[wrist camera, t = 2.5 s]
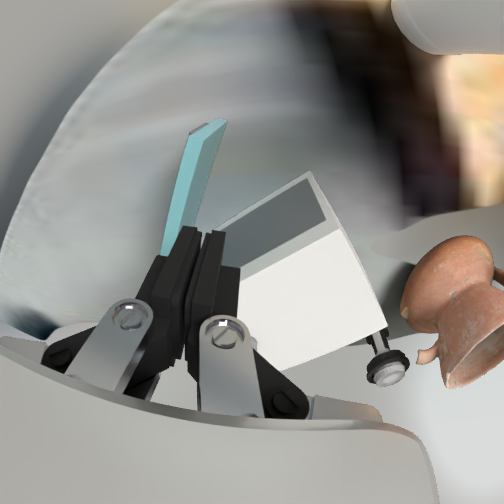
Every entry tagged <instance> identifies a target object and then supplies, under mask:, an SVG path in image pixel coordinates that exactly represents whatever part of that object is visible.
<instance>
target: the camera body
mask: <svg viewBox="0 0 504 504" xmlns="http://www.w3.org/2000/svg"><path fill="white" fill-rule="evenodd" d="M214 230H217V231H223V232H226V237H225V244H224V251H223V258H222V265H223V266H230V267H236V268H241V273H240V286H239V298H238V311H237V319H239V320H240V321H242V322H243V323H244V324H245V325H246V326H247V327H248V330H249V332H250V336H251V342H252V348H254V349H255V350H256V351H257V352H258V353H259V354H260V355H261V356H262V357H263V358H265V359H266V360H267V361H268V362H269V363H270V364H271V365H272V366H274V367H275V368H276V369H277V370H278V371H282V370H284V369H287V368H290V367H293V366H296V365H299V364H301V363H304V362H307V361H309V360H312V359H315V358H317V357H320V356H322V355H325V354H327V353H330V352H332V351H335V350H337V349H339V348H342V347H344V346H347V345H349V344H351V343H353V342H356V341H358V340H360V339H362V338H364V337H367V336H369V335H371V334H373V333H375V332H377V331H379V330H381V329H383V328H385V327H387V326H388V324H387V322H386V319H385V317H384V314H383V312H382V309H381V307H380V305H379V302H378V300H377V297H376V295H375V293H374V290H373V288H372V286H371V284H370V281H369V279H368V277H367V275H366V273H365V270H364V268H363V266H362V264H361V262H360V260H359V257H358V255H357V253H356V251H355V249H354V247H353V245H352V243H351V242H350V240H349V238H348V236H347V234H346V232H345V230H344V228H343V227H342V225H341V223H340V221H339V219H338V218H337V216H336V214H335V212H334V211H333V209H332V207H331V205H330V204H329V202H328V200H327V198H326V197H325V195H324V193H323V192H322V190H321V188H320V187H319V185H318V183H317V182H316V180H315V178H314V177H313V175H312V174H311V172H310V170H309V171H308V172H306V173H304V174H303V175H301V176H299V177H298V178H296V179H294V180H293V181H291V182H289V183H288V184H286V185H284V186H283V187H281V188H279V189H278V190H276V191H274V192H273V193H271V194H269V195H268V196H266V197H264V198H263V199H261V200H260V201H258V202H256V203H255V204H253V205H252V206H250V207H248V208H247V209H245V210H244V211H242V212H240V213H239V214H237V215H236V216H234V217H232V218H231V219H229V220H228V221H226V222H225V223H223V224H221V225H220V226H218V227H217V228H215V229H214ZM211 232H212V231H211ZM211 232H209V233H211ZM204 237H205V235H204V236H203V237H202V240H201V247H202V243H203V240H204Z"/></svg>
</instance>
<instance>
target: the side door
mask: <svg viewBox="0 0 504 504" xmlns="http://www.w3.org/2000/svg"><path fill="white" fill-rule="evenodd" d="M226 124H227V121H226V120H222V119H219V118H218V119H216V120H215V121H213V122H211V123H210V124H208V123H205V124H203V125H201V126H200V127H198V128H196V129H194V130H193V131H191V132H189V135H188V139H187V142H186V146H185V151H184V154H183V158H182V162H181V165H180V169H179V173H178V177H177V180H176V184H175V188H174V192H173V197H172V201H171V205H170V209H169V214H168V218H167V223H166V227H165V232H164V237H163V242H162V247H161V252H160V255H162V256H168V255H169V253H170V251H171V249H172V247H173V245H174V243H175V241H176V238H177V236H178V234H179V232H180V230H181V228H182V226H183V225H184V226H191V227H194V224H195V220H196V217H197V214H198V210H199V207H200V203H201V200H202V197H203V193H204V190H205V187H206V184H207V181H208V177H209V174H210V171H211V168H212V165H213V162H214V159H215V156H216V153H217V150H218V147H219V144H220V141H221V138H222V135H223V132H224V130H225V127H226Z"/></svg>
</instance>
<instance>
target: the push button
mask: <svg viewBox="0 0 504 504" xmlns="http://www.w3.org/2000/svg"><path fill="white" fill-rule="evenodd" d="M388 336H389V332H388V330H387V327H385V328H383V329H381V330H379V331H377V332H375V333H373V334H371V335H369V336H367V337H365V338H366V341H367V343H368V344H369V345H370V344H371V345H372V346H373V349H374V352H375V355H376V356H375V357H374V358H373V359H372V360H371V362H370V363H369V364H368V365H367V372H368V373H367V380H368V381H369V382H370V383H374V384H376V385H378V386H379V387H386V386H390V385H393V384H395V383H397V382H398V381H400V380H401V379H402V378H403V377H404V375H405V372H406V370H407V369H408V368H409V365H410V362H409V360H408V358H407V357H405V354H404V353H402V352H401V351H400V350H390V349H389V345H388V341H387V338H386V337H388Z"/></svg>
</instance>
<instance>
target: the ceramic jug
mask: <svg viewBox="0 0 504 504" xmlns="http://www.w3.org/2000/svg"><path fill="white" fill-rule="evenodd" d="M492 280H495V281H497V282H498V283H500V284H501V285H503V286H504V271H502V270H500V269H498V268H496V267H495V266H494V262H493V257H492V253H491V251H490V249H489V247H488V246H487V245H486V244H485V243H484V242H483V241H482V240H480V239H478V238H476V237H473V236H456V237H453V238H450V239H447V240H445V241H443V242H441V243H440V244H438V245H437V246H436V247H434V248H433V249H431V250H430V251H429V252H428V253H427V254H426V255H425V256H424V257H423V258H422V259H421V260H420V261H419V262H418V263H417V265H416V266H415V267H414V269H413V270H412V272H411V274H410V276H409V278H408V280H407V282H406V285H405V288H404V291H403V295H402V299H401V303H400V308H399V311H400V314H401V316H402V317H403V318H404V319H405V320H406V322H407V323H408V324H409V325H410V326H411V327H412V328H413V329H415V330H417V331H419V332H422V333H439V338H438V340H437V341H436V342H435V344H434V346H432V347H431V348H429V349H427V350H418V358H417V361H416V364H421V365H423V364H427V363H430V362H431V361H433V360H434V359H435V358H436V357H439V360H440V368H441V374H442V378H443V382H444V384H445V386H446V388H448V389H456V388H458V387H463V386H465V385H468V384H470V383H472V382H473V381H475V380H476V379H478V378H479V377H481V376H482V375H485V374H486V373H487V372H488V371H489V370H491V369H493V368H494V367H496V365H498V364H499V363H500V362H501V361H503V360H504V291H502V290H500V289H498V288H496V287H494V286H491V283H492Z"/></svg>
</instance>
